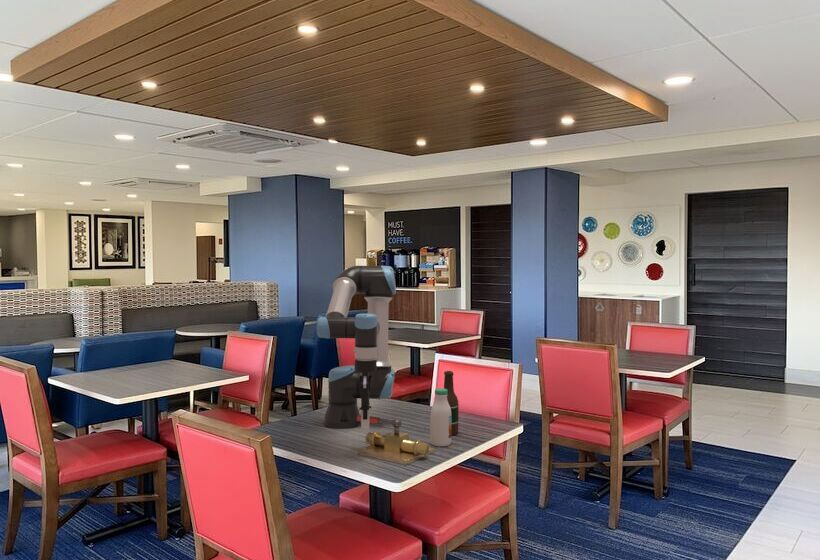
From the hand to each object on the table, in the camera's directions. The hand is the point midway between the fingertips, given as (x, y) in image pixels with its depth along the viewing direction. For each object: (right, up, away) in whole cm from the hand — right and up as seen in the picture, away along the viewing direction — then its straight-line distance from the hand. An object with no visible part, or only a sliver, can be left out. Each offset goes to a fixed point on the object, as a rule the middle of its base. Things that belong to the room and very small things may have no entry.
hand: (365, 428), depth 213 cm
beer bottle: (+30, -9, +29) cm, 43 cm away
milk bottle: (+26, -9, +15) cm, 32 cm away
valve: (+11, -9, +4) cm, 15 cm away
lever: (+5, +1, +6) cm, 8 cm away
